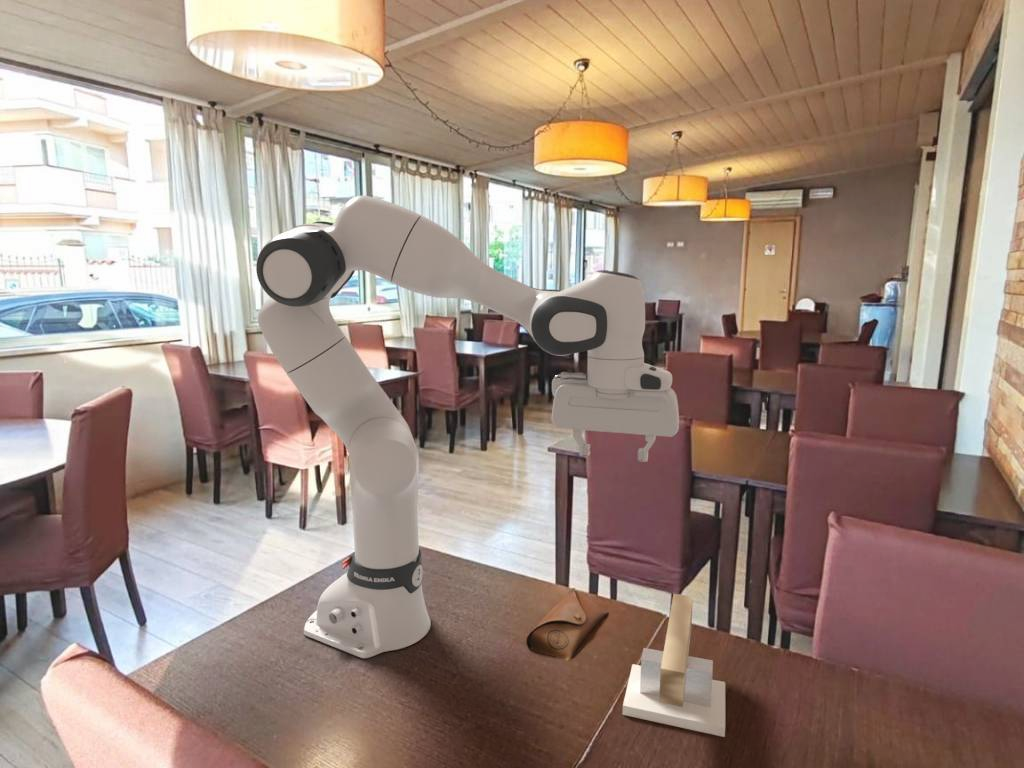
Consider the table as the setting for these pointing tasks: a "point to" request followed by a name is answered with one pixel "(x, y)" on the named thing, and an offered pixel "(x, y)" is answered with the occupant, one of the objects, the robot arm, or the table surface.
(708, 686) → the ridge stand
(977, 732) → the table surface
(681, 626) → the oak rod
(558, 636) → the sunglasses case
